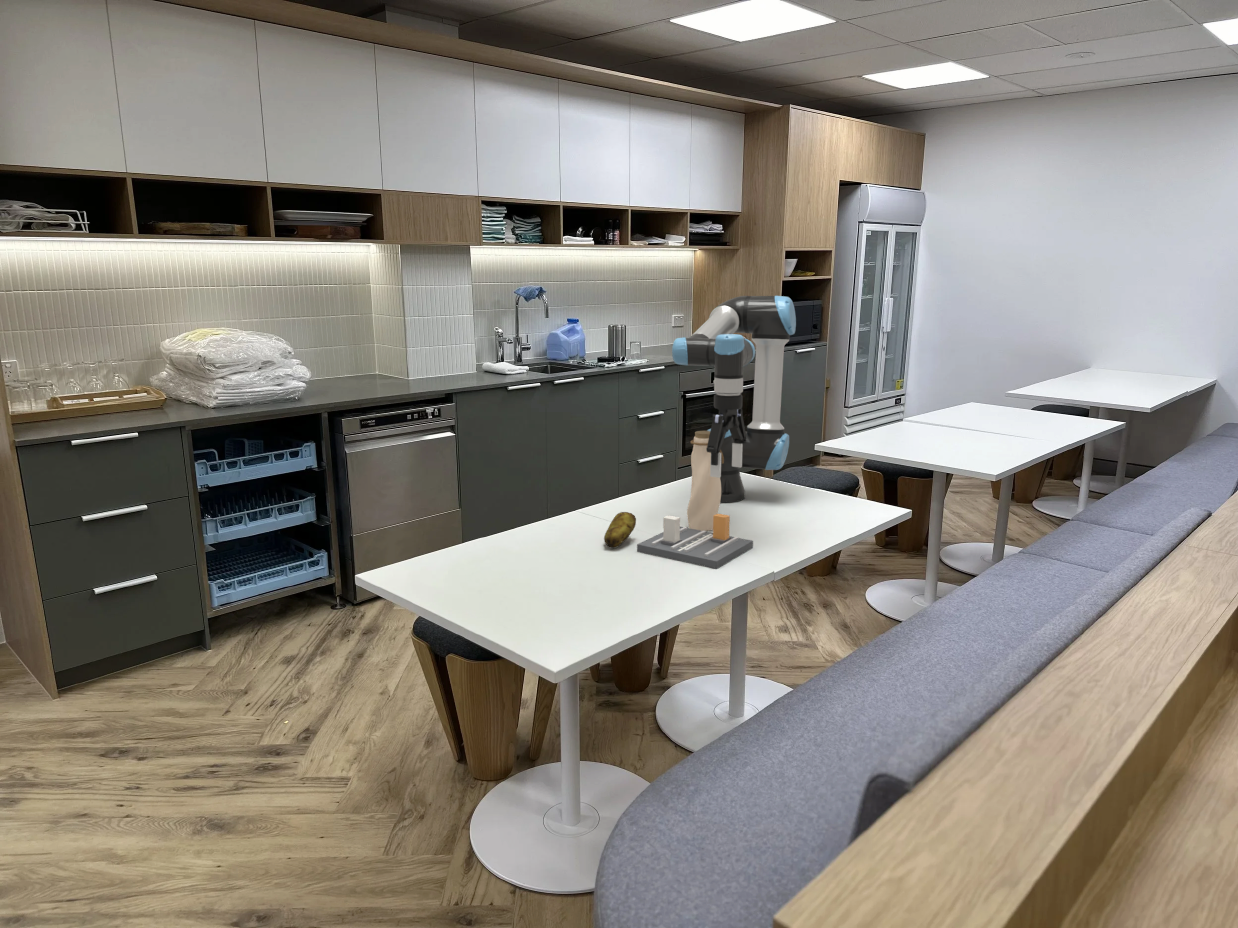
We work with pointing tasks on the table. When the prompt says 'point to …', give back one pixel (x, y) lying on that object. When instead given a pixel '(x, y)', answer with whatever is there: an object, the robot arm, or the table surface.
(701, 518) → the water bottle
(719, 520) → the fader
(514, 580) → the table surface
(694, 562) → the console
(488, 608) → the table surface
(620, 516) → the potato
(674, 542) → the fader
